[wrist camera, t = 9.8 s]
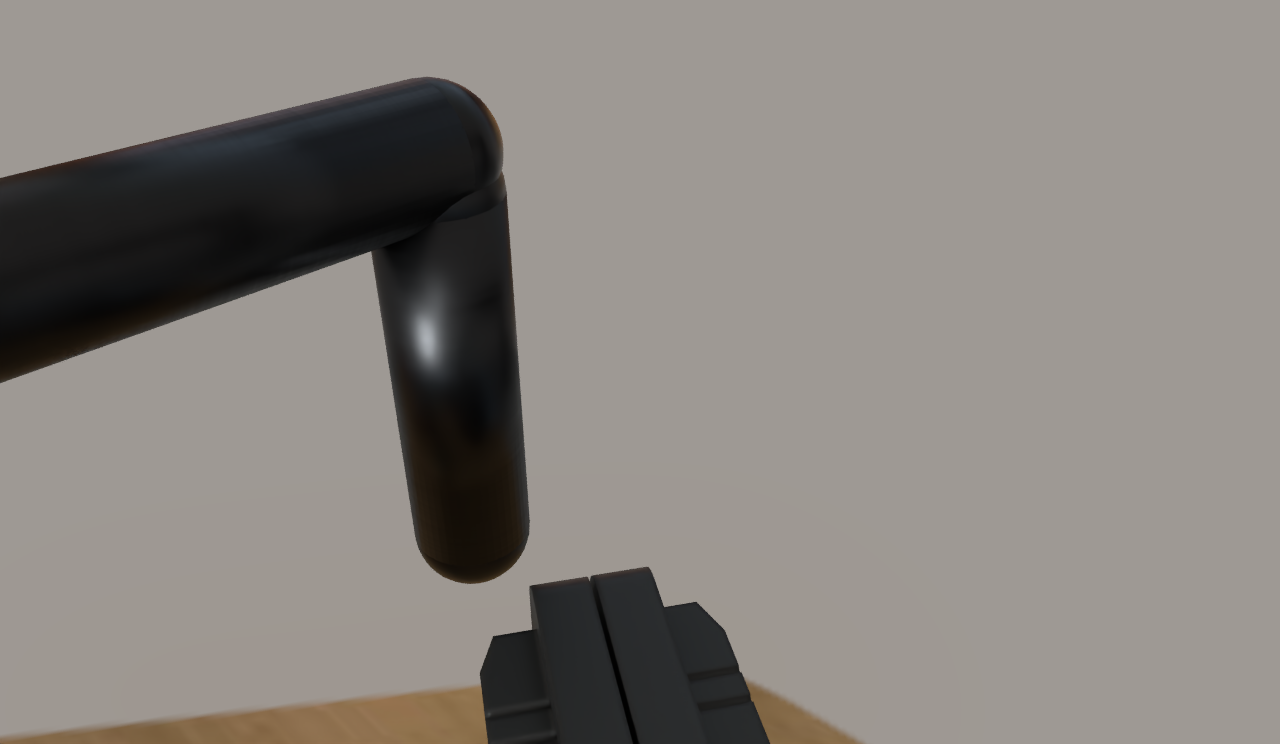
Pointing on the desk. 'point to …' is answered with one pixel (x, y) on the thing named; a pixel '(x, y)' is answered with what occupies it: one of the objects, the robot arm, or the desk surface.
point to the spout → (297, 245)
